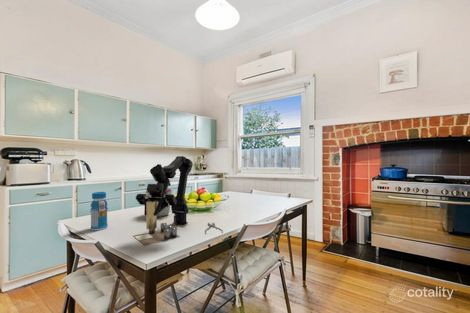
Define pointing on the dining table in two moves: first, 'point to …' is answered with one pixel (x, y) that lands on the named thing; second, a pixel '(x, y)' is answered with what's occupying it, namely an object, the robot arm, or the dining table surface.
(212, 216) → the dining table surface
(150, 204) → the disc
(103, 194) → the beverage bottle
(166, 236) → the spacer posts
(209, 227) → the pliers
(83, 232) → the dining table surface
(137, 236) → the walnut board
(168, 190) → the canister
